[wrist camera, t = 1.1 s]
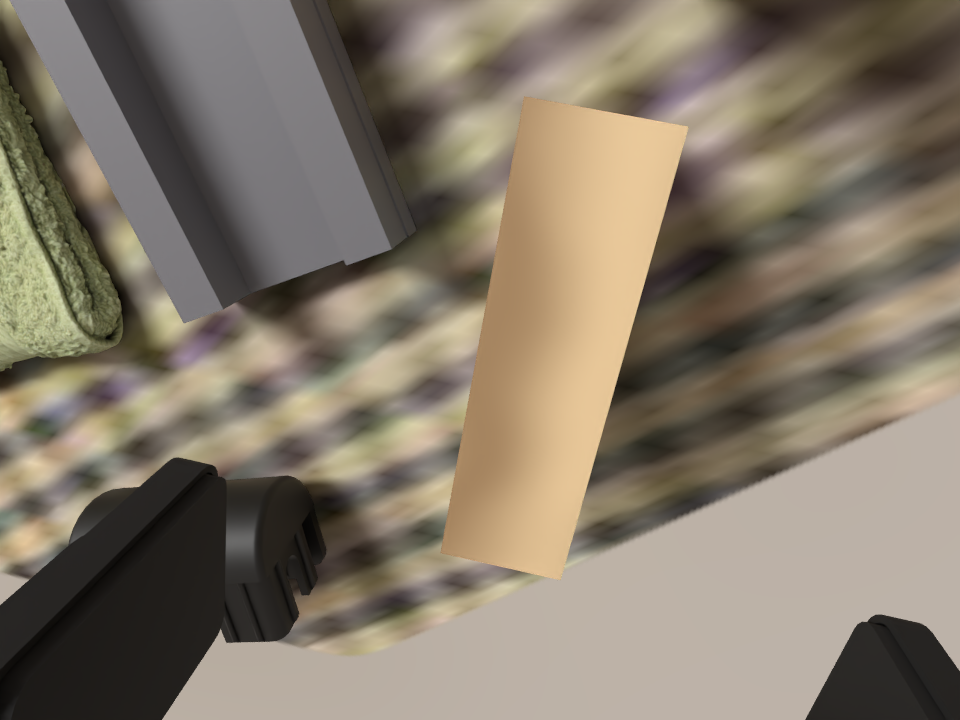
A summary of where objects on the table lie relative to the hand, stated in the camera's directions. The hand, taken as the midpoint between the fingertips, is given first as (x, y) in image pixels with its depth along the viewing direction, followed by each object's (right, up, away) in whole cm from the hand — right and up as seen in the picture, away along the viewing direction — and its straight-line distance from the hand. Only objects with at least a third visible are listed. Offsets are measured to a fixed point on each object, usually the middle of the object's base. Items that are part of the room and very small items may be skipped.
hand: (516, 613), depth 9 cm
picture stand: (-12, +18, +16) cm, 27 cm away
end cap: (-14, -5, +26) cm, 30 cm away
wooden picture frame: (+3, +7, +19) cm, 20 cm away
